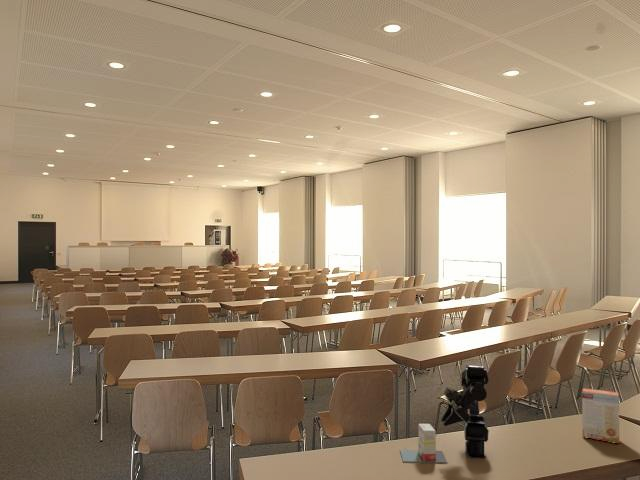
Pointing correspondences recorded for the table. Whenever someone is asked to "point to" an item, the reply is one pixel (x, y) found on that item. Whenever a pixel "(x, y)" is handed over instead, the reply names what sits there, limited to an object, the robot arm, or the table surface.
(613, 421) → the cracker box
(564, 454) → the table surface
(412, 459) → the flat gray angled bracket
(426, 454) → the ink box
